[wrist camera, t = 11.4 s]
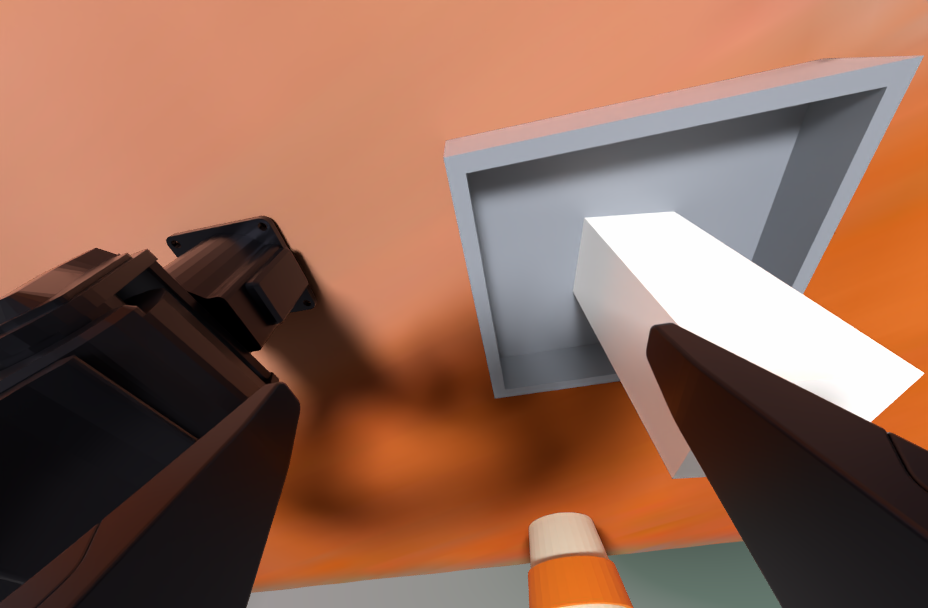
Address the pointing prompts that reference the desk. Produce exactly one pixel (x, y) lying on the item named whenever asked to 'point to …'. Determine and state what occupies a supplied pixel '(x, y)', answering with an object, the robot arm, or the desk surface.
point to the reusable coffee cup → (571, 565)
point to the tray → (659, 195)
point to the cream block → (717, 321)
